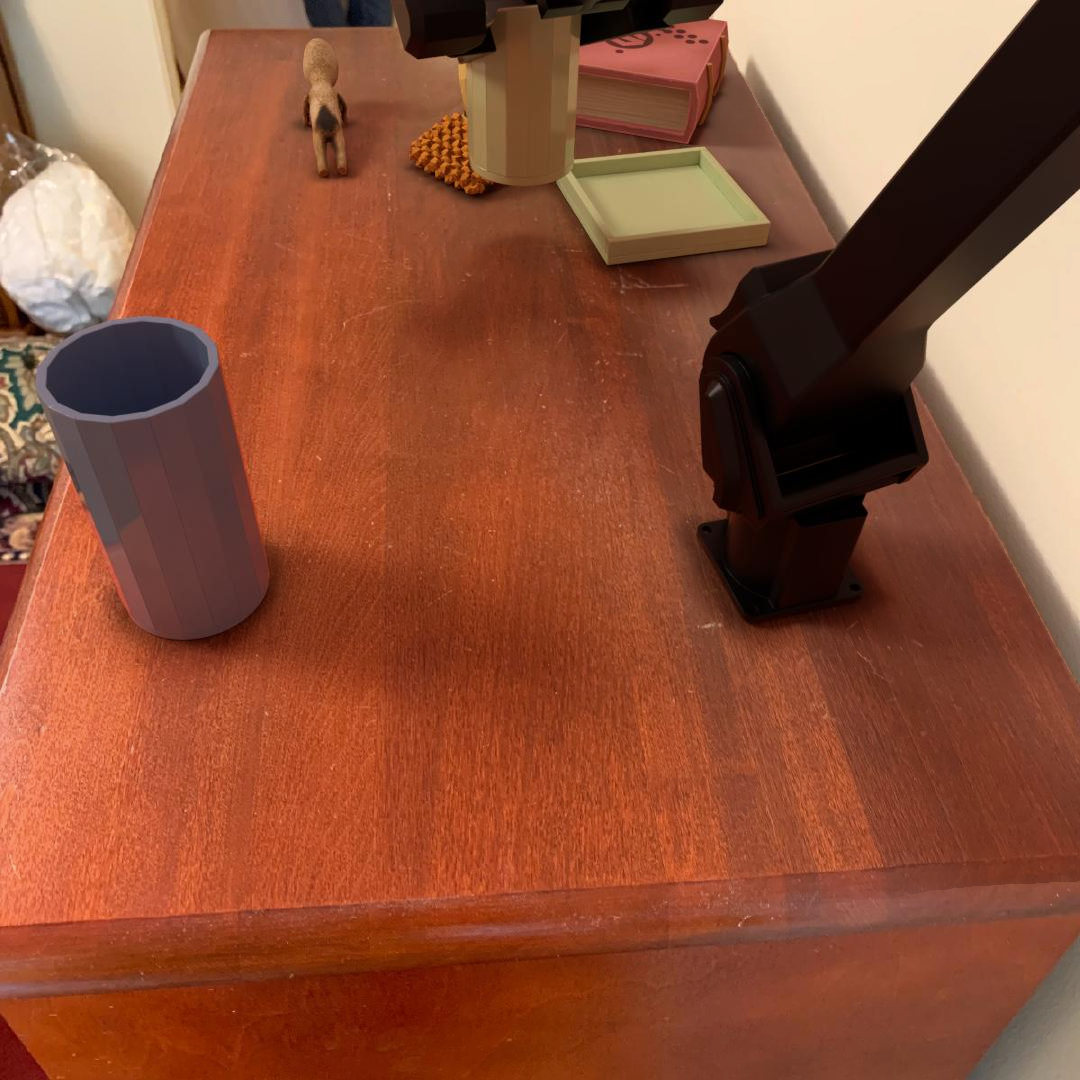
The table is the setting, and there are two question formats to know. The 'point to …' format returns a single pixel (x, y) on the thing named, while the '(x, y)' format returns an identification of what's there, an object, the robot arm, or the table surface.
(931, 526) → the table surface
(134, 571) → the blue cup
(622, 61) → the book
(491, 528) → the table surface
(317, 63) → the figurine
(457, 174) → the ornament
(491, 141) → the green cup
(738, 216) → the green tray
